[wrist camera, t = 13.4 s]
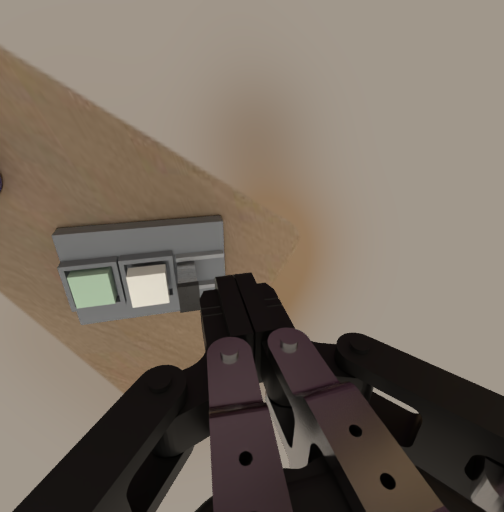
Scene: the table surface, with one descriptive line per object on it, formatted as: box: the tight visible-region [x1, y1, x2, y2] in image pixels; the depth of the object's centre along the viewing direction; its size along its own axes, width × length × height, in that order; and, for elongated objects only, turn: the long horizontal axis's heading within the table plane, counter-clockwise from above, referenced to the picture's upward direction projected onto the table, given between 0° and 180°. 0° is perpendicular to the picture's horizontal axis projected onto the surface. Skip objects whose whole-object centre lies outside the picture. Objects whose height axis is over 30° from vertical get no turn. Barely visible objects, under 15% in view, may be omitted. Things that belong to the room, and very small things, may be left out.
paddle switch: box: [177, 260, 200, 313], centre depth 35 cm, size 2×3×6 cm
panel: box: [52, 215, 225, 325], centre depth 37 cm, size 18×12×3 cm, turn 90°
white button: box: [126, 264, 170, 308], centre depth 35 cm, size 4×4×2 cm
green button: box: [67, 266, 118, 309], centre depth 34 cm, size 4×4×2 cm
